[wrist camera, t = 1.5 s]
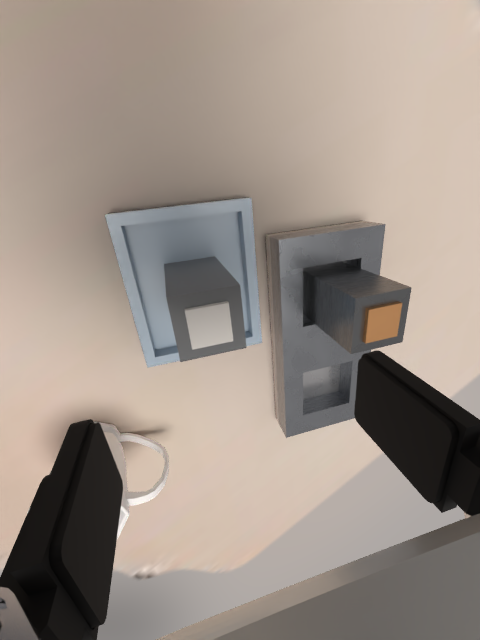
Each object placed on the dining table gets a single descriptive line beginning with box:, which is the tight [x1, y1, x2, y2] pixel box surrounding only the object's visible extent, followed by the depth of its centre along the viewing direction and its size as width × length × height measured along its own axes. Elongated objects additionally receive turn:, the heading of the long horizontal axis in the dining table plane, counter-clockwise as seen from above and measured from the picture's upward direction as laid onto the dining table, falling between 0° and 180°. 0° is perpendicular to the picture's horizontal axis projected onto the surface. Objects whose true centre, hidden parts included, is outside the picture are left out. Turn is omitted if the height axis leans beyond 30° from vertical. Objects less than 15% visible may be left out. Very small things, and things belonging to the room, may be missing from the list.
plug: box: [164, 256, 246, 362], centre depth 20 cm, size 4×4×8 cm
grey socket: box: [265, 221, 411, 438], centre depth 25 cm, size 20×9×9 cm, turn 6°
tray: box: [105, 198, 262, 367], centre depth 23 cm, size 12×10×2 cm
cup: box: [27, 422, 169, 538], centre depth 24 cm, size 7×10×8 cm
